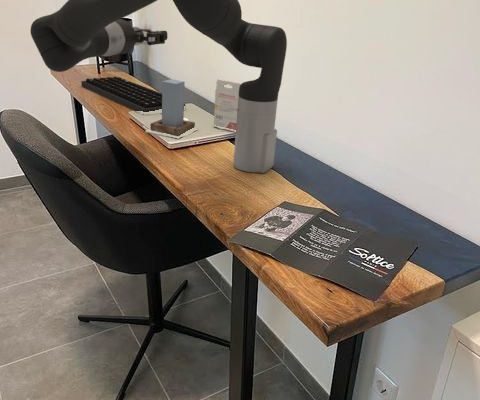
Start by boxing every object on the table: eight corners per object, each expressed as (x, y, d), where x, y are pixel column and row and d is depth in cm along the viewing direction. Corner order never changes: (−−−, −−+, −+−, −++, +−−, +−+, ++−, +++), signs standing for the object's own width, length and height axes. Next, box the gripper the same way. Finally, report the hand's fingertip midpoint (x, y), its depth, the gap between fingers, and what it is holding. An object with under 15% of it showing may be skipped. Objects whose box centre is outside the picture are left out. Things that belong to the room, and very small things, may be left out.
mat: (199, 129, 146) (199, 128, 146) (178, 139, 136) (178, 138, 136) (167, 123, 150) (168, 121, 150) (145, 132, 140) (145, 130, 140)
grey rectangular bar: (183, 129, 144) (184, 81, 138) (175, 132, 140) (176, 83, 135) (170, 126, 146) (170, 79, 140) (161, 129, 142) (162, 81, 136)
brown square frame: (194, 128, 145) (194, 122, 145) (178, 136, 138) (178, 129, 137) (168, 123, 149) (168, 116, 148) (150, 130, 141) (150, 123, 140)
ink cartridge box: (244, 129, 150) (248, 81, 144) (237, 133, 146) (241, 83, 140) (220, 124, 154) (223, 77, 148) (212, 127, 150) (215, 79, 143)
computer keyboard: (185, 111, 166) (185, 100, 165) (144, 117, 156) (144, 105, 155) (119, 85, 196) (119, 75, 194) (81, 88, 186) (81, 78, 184)
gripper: (85, 51, 113) (128, 45, 126) (136, 59, 108) (175, 52, 121) (83, 16, 110) (127, 14, 123) (136, 23, 105) (176, 20, 118)
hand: (151, 33), depth 122 cm, fingers open, 8 cm apart
